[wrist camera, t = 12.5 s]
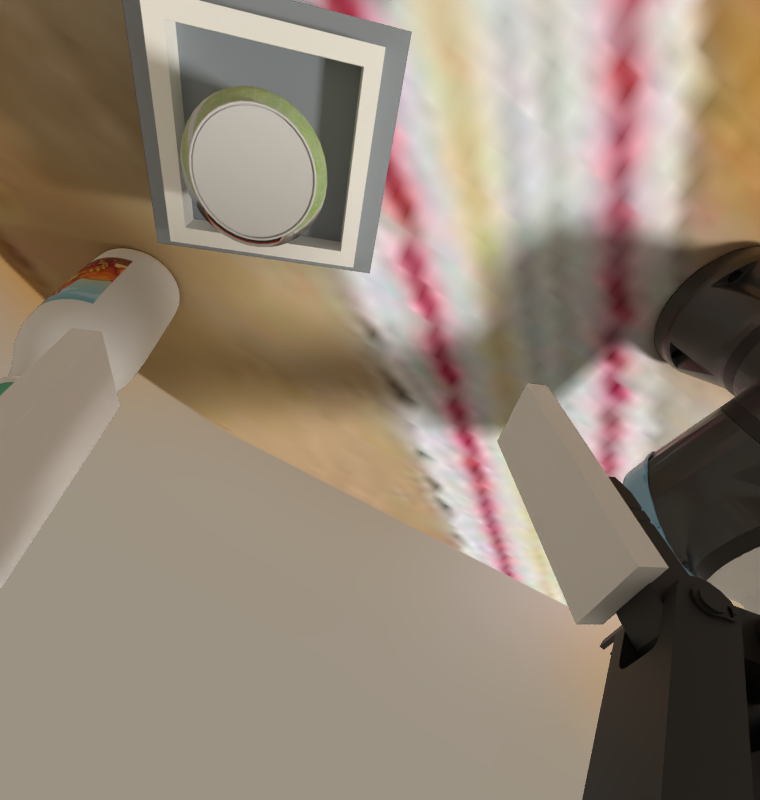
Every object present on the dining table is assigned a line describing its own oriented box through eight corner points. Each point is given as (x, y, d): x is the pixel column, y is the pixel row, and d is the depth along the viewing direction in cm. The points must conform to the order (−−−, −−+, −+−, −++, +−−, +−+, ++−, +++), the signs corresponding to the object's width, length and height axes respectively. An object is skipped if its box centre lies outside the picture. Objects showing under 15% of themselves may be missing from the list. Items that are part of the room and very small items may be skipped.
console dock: (392, 39, 30) (417, 29, 21) (362, 235, 38) (371, 284, 30) (170, -17, 27) (97, -56, 18) (191, 208, 35) (148, 252, 27)
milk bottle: (179, 254, 38) (75, 385, 22) (184, 327, 42) (101, 477, 27) (85, 237, 36) (-97, 365, 21) (101, 315, 41) (-39, 467, 25)
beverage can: (206, 182, 26) (140, 244, 17) (242, 52, 23) (181, 41, 13) (298, 229, 29) (283, 306, 20) (344, 118, 25) (352, 148, 16)
